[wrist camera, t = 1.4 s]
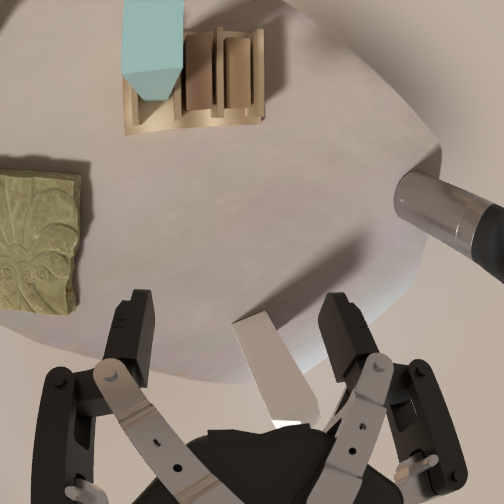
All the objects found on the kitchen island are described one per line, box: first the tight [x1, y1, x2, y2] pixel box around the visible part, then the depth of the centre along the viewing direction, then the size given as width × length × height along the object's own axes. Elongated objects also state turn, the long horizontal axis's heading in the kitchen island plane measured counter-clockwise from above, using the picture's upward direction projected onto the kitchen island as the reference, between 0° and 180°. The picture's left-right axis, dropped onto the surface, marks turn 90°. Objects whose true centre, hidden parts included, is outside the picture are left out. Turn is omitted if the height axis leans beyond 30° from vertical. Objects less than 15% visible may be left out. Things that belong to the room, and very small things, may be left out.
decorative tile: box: [0, 169, 82, 316], centre depth 29 cm, size 19×20×4 cm
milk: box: [231, 311, 320, 429], centre depth 39 cm, size 6×6×22 cm
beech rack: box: [123, 26, 264, 135], centre depth 26 cm, size 16×12×6 cm
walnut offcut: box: [182, 35, 212, 111], centre depth 26 cm, size 2×8×5 cm, turn 0°
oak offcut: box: [223, 37, 251, 109], centre depth 27 cm, size 2×8×4 cm, turn 0°
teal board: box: [122, 0, 184, 103], centre depth 18 cm, size 2×5×22 cm, turn 0°
